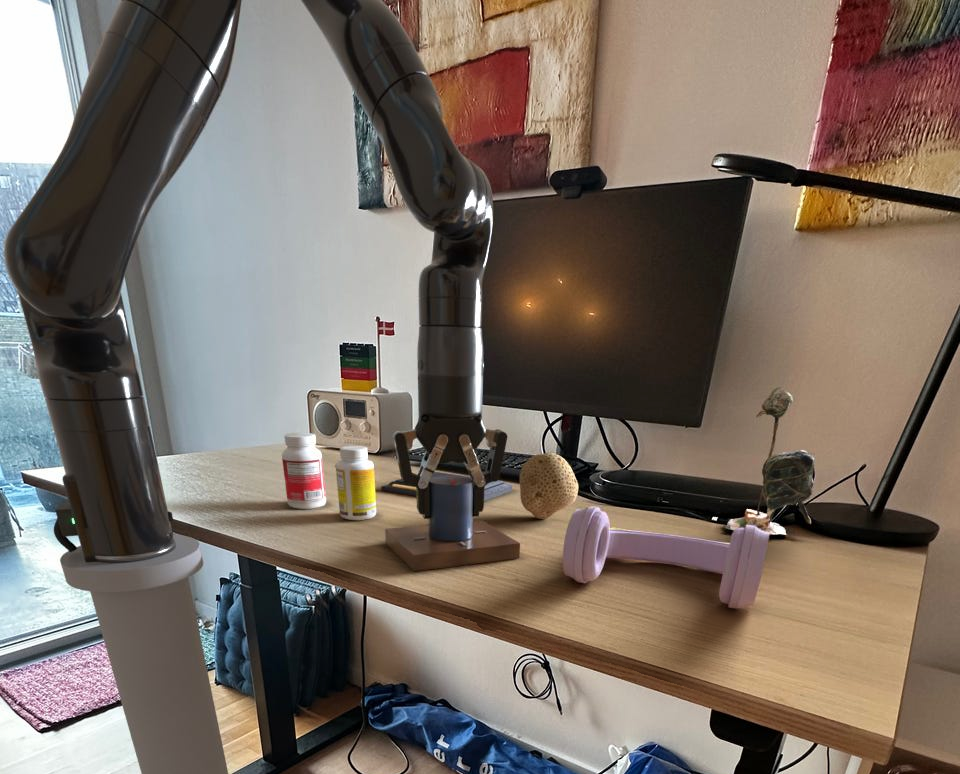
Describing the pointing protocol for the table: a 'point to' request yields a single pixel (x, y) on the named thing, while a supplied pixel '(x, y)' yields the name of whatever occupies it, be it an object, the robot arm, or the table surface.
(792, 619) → the table surface
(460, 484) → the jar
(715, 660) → the table surface
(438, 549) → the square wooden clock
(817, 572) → the table surface
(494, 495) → the dark blue book
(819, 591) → the table surface
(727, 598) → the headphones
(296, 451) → the pill bottle
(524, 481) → the natural sponge
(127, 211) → the robot arm
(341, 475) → the supplement bottle
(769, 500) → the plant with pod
